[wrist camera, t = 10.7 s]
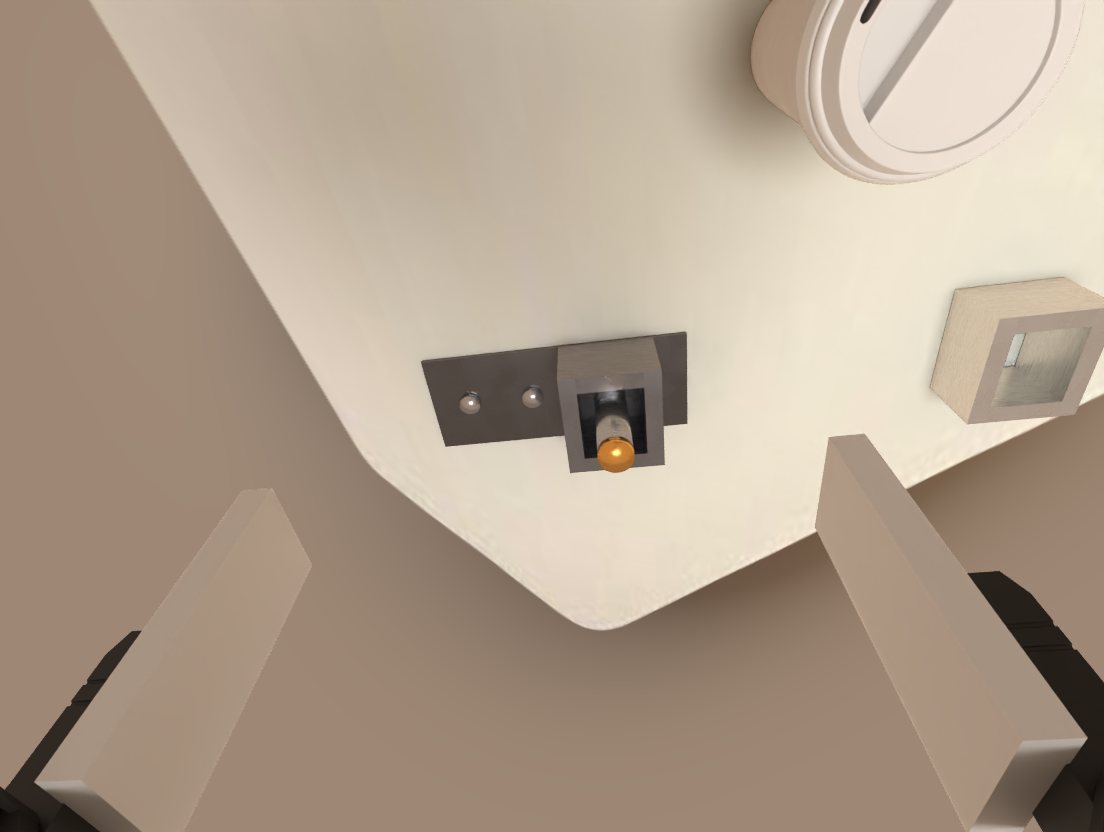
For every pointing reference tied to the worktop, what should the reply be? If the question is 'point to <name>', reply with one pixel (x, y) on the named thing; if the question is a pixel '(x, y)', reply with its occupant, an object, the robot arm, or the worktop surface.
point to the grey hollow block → (608, 372)
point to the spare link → (1045, 357)
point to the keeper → (545, 399)
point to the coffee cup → (910, 76)
